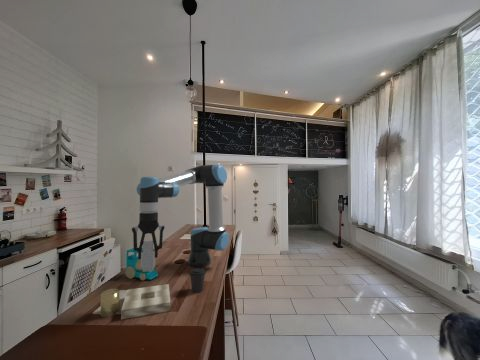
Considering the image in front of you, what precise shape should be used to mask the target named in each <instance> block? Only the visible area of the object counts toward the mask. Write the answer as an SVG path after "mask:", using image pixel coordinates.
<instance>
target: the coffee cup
mask: <svg viewBox="0 0 480 360" xmlns="http://www.w3.org/2000/svg"><path fill="white" fill-rule="evenodd" d="M206 273H207V271H206V269H204V268H201V267H195V268H193V269H191V270H189V273H188V274H189V275H190V284H191V292H192V293H194V294H199V293H201V292H203V290H204V286H205V285H204V284H205V275H206Z"/></svg>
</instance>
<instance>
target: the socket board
mask: <svg viewBox="0 0 480 360" xmlns="http://www.w3.org/2000/svg"><path fill="white" fill-rule="evenodd" d="M170 292H171V291H170V284H169V283H167V284H166V283H165V284H159V285H158V284H157V285H151V286H145V287H139V288H129V289H127V290H126V293H125V297H124V299H123V304H122V307H121V311H120V316H121V317H120V321H121V320H127V319H132V318H137V317H143V316H149V315H154V314H158V313H159V314H160V313H165V312H170V311H171V293H170Z"/></svg>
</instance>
